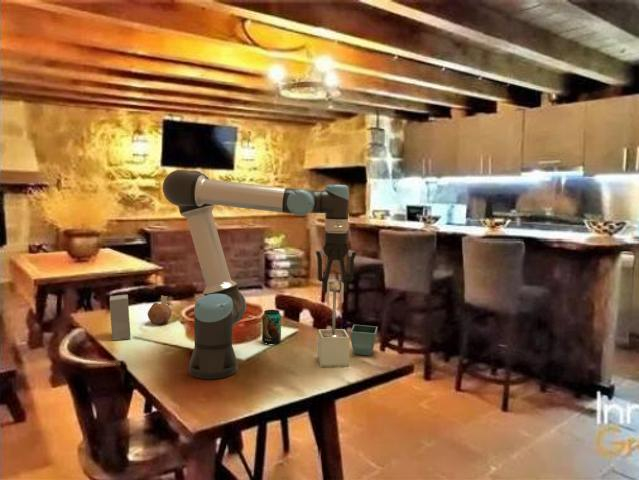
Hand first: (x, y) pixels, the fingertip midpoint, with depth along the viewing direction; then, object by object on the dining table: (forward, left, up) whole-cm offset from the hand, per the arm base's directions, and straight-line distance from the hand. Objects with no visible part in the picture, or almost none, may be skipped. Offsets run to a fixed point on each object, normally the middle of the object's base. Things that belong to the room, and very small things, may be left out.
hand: (334, 301), depth 159 cm
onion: (-66, +49, -21) cm, 85 cm away
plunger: (0, 0, -12) cm, 12 cm away
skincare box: (-77, +31, -21) cm, 86 cm away
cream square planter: (0, 0, -21) cm, 21 cm away
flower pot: (+13, +8, -21) cm, 26 cm away
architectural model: (-68, +71, -22) cm, 100 cm away
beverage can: (-20, +22, -21) cm, 36 cm away
